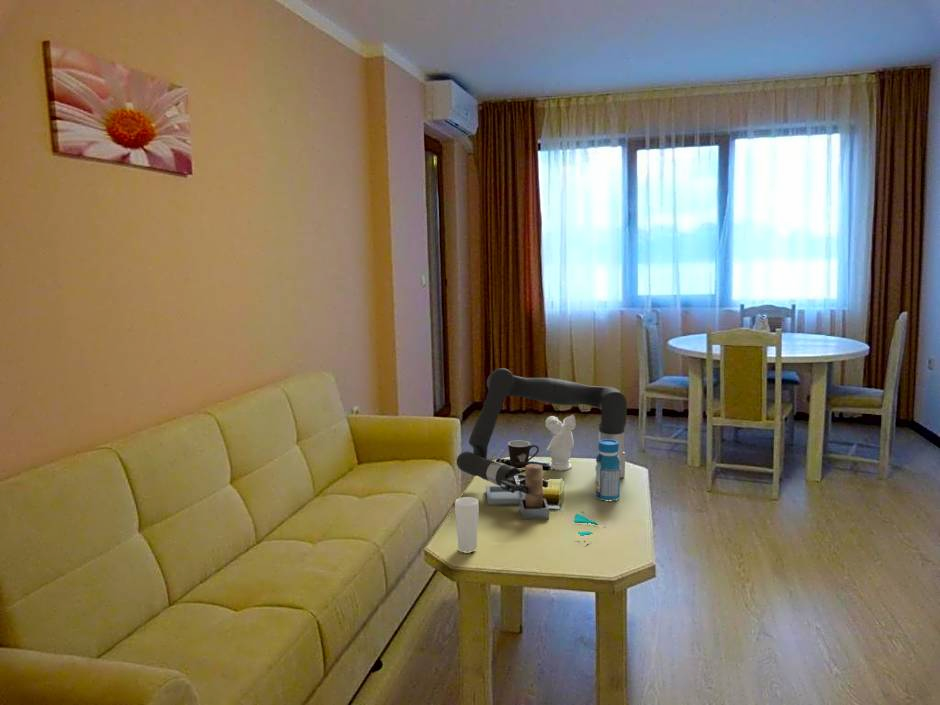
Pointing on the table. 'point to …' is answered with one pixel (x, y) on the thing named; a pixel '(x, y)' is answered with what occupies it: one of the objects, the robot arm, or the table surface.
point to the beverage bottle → (608, 470)
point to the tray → (502, 496)
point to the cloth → (583, 519)
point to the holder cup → (533, 511)
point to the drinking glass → (467, 522)
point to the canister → (534, 486)
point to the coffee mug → (520, 453)
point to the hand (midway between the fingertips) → (538, 487)
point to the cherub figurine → (561, 441)
